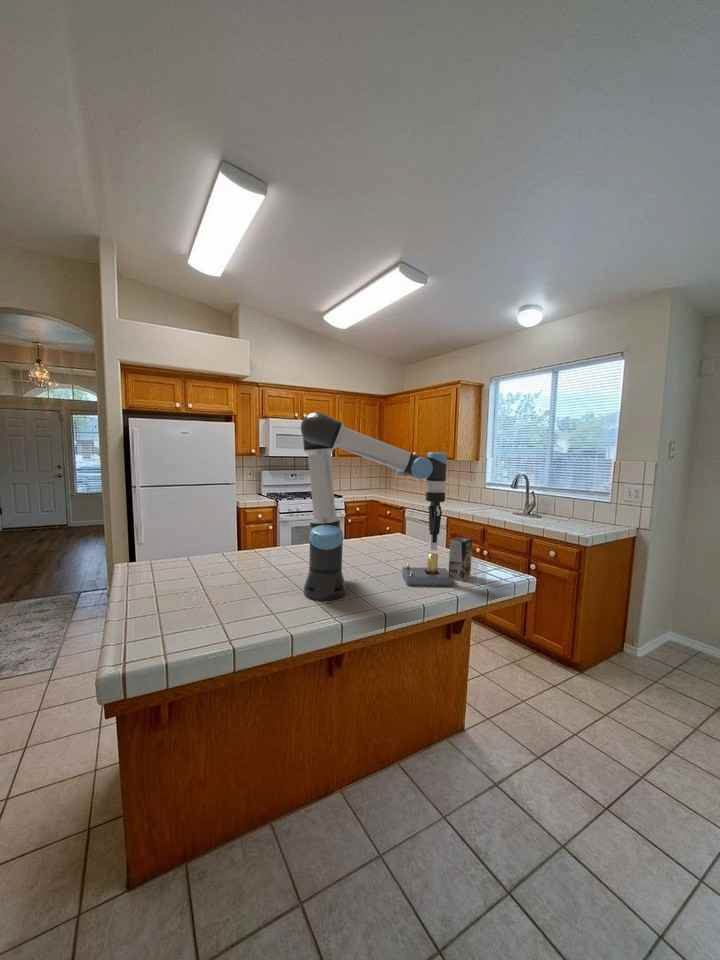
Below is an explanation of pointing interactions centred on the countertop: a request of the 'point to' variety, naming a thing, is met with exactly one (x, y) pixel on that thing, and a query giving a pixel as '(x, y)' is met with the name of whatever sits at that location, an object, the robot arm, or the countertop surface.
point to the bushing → (432, 563)
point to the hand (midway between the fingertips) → (433, 549)
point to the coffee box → (460, 558)
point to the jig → (426, 577)
